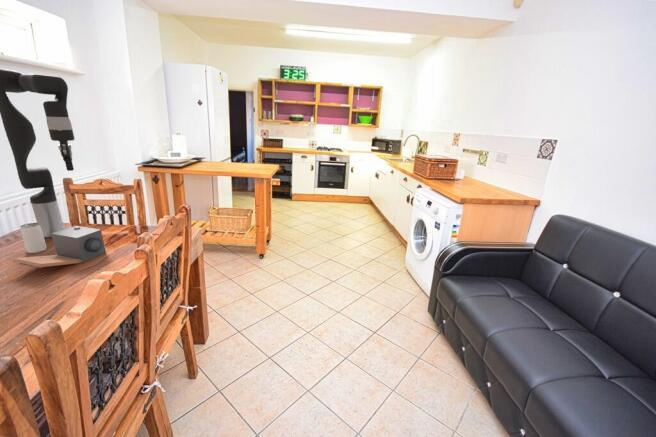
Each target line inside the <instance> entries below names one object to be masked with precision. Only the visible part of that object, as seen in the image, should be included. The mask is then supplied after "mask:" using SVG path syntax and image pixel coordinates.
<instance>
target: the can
mask: <svg viewBox="0 0 656 437" xmlns="http://www.w3.org/2000/svg"><path fill="white" fill-rule="evenodd" d="M19 232H20V234H21V237H22V241H23V244H24V247H25V250H26V252H27V253H29V254H36V253H37V254H38V253H41V252H44V251H46V250H47V249H48V248H47V244H46V241H45V237H44V236H43V233H42V230H41V227H40V226H39V225H38V223H37V222H30V223H25V224H22V225H20V230H19Z"/></svg>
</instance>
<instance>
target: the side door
mask: <svg viewBox="0 0 656 437" xmlns="http://www.w3.org/2000/svg"><path fill="white" fill-rule="evenodd" d="M12 262H14V263H19V265H22V266H28V267H30V268H31V267H32V268H35V269H43V268H44V267H45V268H46V267H53V266H54V267H55V266H63V265H72V264H81V263H83V262H82V260H80V259H75V258H70V257H65V256H60V255H57V254H51V255H49V254H48V255H41V256H40V255H38V256H37V255H36V256H24V257H13V258H12Z"/></svg>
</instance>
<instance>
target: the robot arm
mask: <svg viewBox="0 0 656 437" xmlns="http://www.w3.org/2000/svg"><path fill="white" fill-rule="evenodd" d="M68 91H69V88H68V84H67V82H66V81H65V79H63V78H62V77H61V76H57V75H49V74H47V75H46V74H38V73H22V72H19V71H17V70H12V69H7V68H0V117H1V121H2V124H3V128H4V132H5V134H6V137H7V140H8V144H9V146H10V149H11V151H12V155H13V158H14V163H15V167H16V170H17V176H18V179H19V182H20V185H21V187H22V188H23V189H25V190H31V189H41V188H43V189H42V190H41V191H39V192H37V193H35V194H33V195H31V196H30V198H29V200H30V203H31V207H32V211H33V214H34V218H35V220H36V223H38V225H39V226H40V227H41V230H42V233H43V236H44V239H45V238H52V235H51V233H54V232H58V231H61V230H64V229H65V225H64V222H63V218H62V213H61V210H60V208H59V207H60V206H59V202H58V200H57V195H56V191H55V187H54V181H53V177H52V173H51V172H50V171H51V170H49V169H48V167H33V168H31V167H29V168H28V166H27V163H28V158H29V155H30V153H31V151H32V150H33V148H34V146H35V144H36V141H37V137H36V133H35V130H34V126H33V124H32V122H31V121H30V120H29V119H28V118H27V116H25V115H24V114H23V113H22V112H21V111H20V110H18V109H17V108H16V106H15V105H14V104H13V103H12V101H11V100H10V99H9V97H8V95H7V93H15V94H20V93H21V94H22V93H25V92H30V93H37V94H40V95H41V94H42V95H53V96H54V99H53V100H46V101H43V103H42V106H43V110H44V113H45V118H46V125H47V129H48V132H49V133H48V134H49V137H50V140H51V141H54V142H55V141H58V142H59V144H58V145H57V146H58V150H59V152H60V156H61V157H62V160H63V161H64V162H65V163H64V164H65V167H66V171H67V172H71V171H74V170H75V168H74V165H73V152H72V144H69V142H71V141H75V135H74V131H73V125H72V122H71V120H70V117H69V112H68V106H67V102H68V95H69V94H68V93H69V92H68Z"/></svg>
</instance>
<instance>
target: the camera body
mask: <svg viewBox="0 0 656 437" xmlns="http://www.w3.org/2000/svg"><path fill="white" fill-rule="evenodd" d="M51 235H52V237H51V238H52V242H53V245H54V249H55V252H56V255H60V256H65V257H70V258H75V259H80V260H82V263H85V262H87V261H88V262H89V261H91V260H92V259H94V258H97V257H99V256H102V255H104V254H106V253H107V251H106V247H105V242H104V238H103V233H102V229H99V228H93V227H87V226H86V227H85V226H81V225H80V226H79V225H74V226H71V227H67V228H64V230H61V231H58V232H54V233H51Z"/></svg>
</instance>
